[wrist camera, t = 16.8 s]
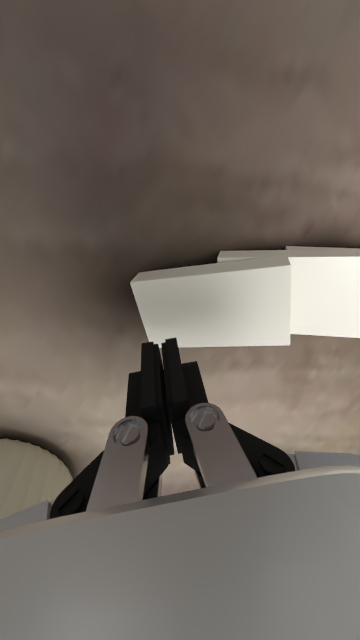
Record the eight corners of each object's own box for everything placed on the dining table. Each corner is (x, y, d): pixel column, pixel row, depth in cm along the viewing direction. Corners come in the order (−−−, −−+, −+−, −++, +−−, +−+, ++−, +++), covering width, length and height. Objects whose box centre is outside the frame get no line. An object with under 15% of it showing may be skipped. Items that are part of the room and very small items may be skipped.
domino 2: (217, 257, 16) (393, 256, 13) (220, 251, 17) (380, 248, 15) (217, 329, 18) (367, 338, 16) (220, 318, 19) (358, 325, 17)
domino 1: (129, 282, 16) (290, 265, 13) (139, 272, 17) (287, 254, 14) (151, 348, 18) (290, 345, 15) (157, 334, 19) (287, 330, 17)
